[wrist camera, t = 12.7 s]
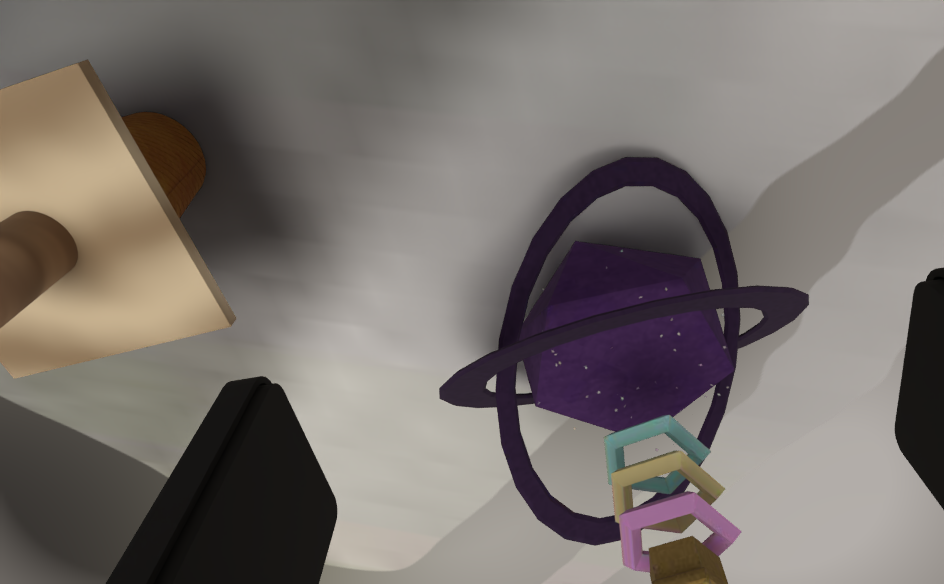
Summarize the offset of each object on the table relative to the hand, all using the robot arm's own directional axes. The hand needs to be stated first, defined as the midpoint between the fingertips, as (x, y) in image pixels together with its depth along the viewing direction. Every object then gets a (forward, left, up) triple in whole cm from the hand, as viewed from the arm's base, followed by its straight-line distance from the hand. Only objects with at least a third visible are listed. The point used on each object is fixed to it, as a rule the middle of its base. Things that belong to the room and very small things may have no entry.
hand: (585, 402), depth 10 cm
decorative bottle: (+19, +1, -33) cm, 38 cm away
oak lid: (+1, -25, -21) cm, 33 cm away
